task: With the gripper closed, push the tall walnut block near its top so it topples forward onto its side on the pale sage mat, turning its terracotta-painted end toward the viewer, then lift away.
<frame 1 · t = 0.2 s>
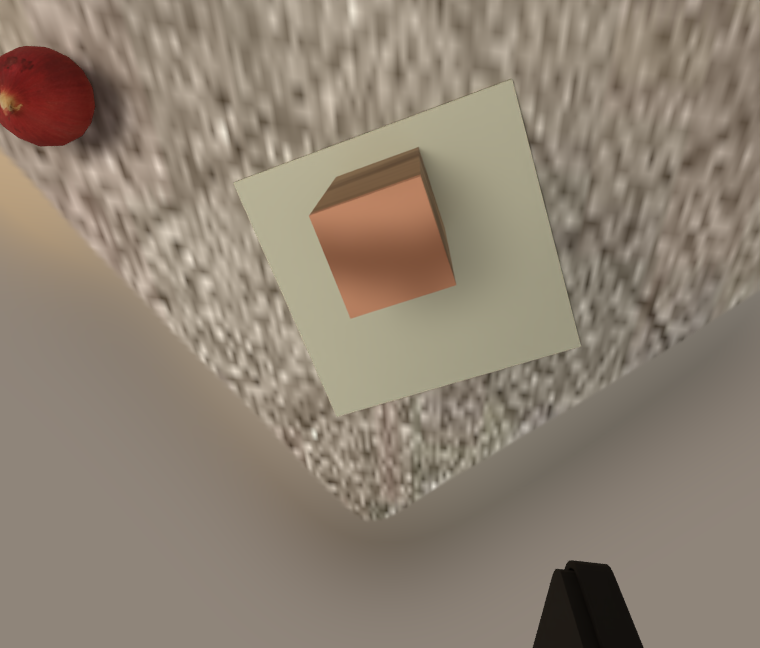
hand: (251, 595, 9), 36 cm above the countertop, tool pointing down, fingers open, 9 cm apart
mat: (414, 265, 45), on the countertop
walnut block: (391, 203, 43), resting on mat
onion: (75, 94, 41), on the countertop
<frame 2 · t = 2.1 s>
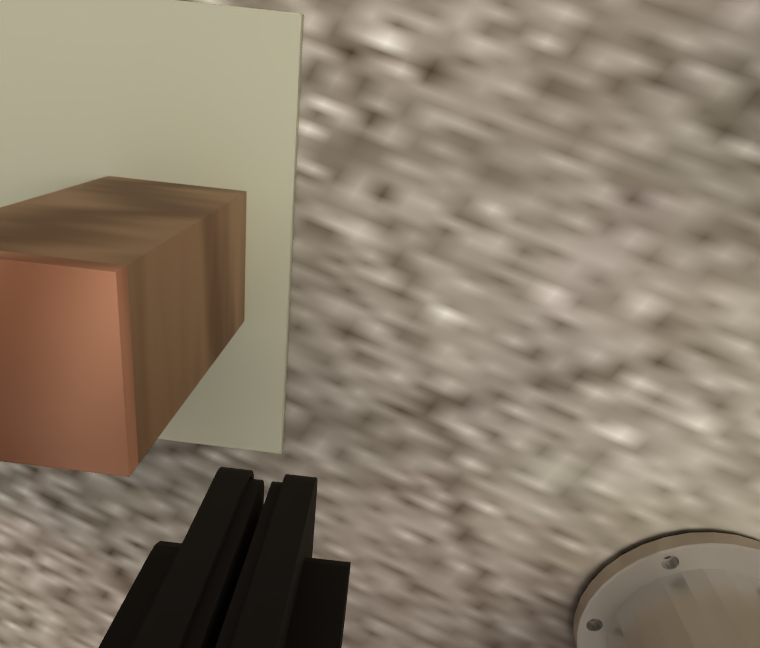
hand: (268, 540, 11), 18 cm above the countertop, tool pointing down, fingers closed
mat: (74, 236, 28), on the countertop
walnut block: (178, 251, 27), resting on mat
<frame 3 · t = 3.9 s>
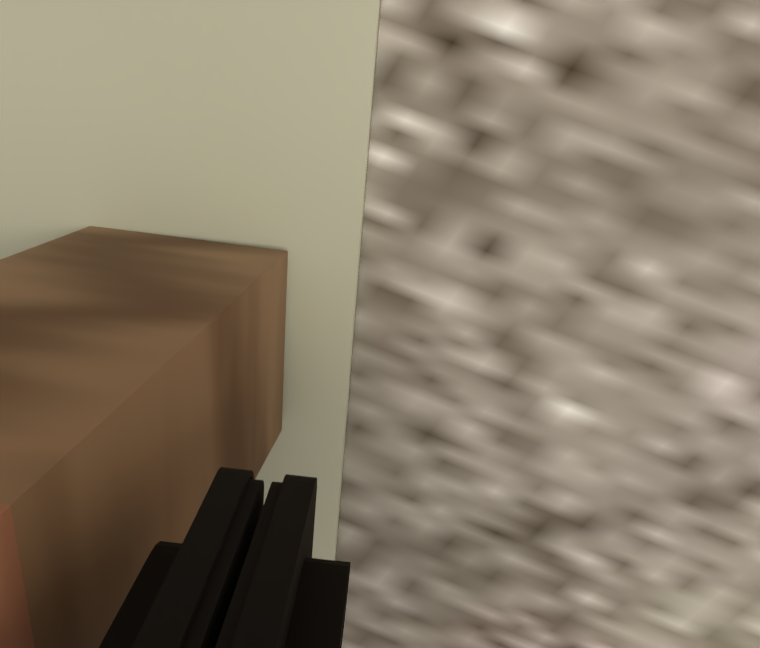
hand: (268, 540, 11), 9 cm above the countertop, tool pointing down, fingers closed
mat: (45, 307, 20), on the countertop
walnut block: (190, 332, 19), point 1 cm above the countertop, touching mat
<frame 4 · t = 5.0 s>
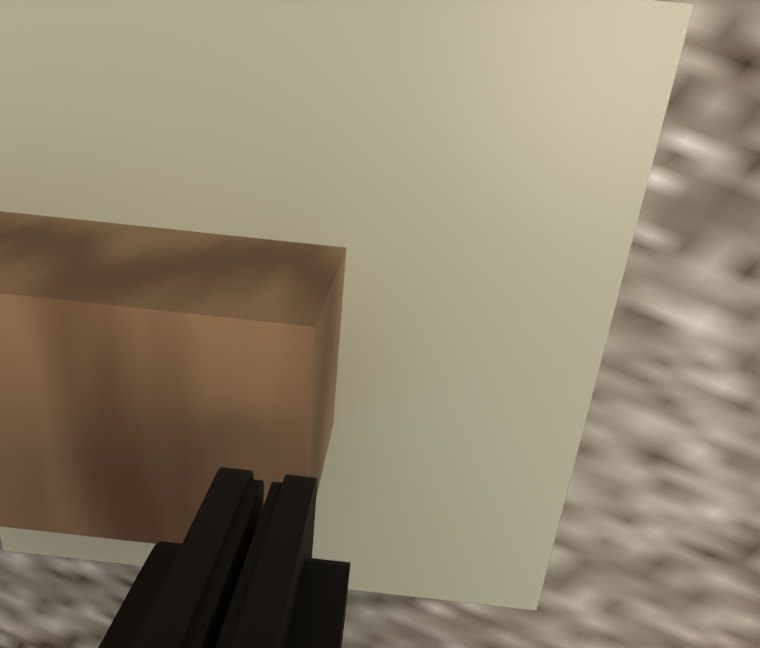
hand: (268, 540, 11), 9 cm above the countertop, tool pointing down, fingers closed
mat: (278, 328, 19), on the countertop
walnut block: (326, 387, 16), point 3 cm above the countertop, tilted 90°, touching mat
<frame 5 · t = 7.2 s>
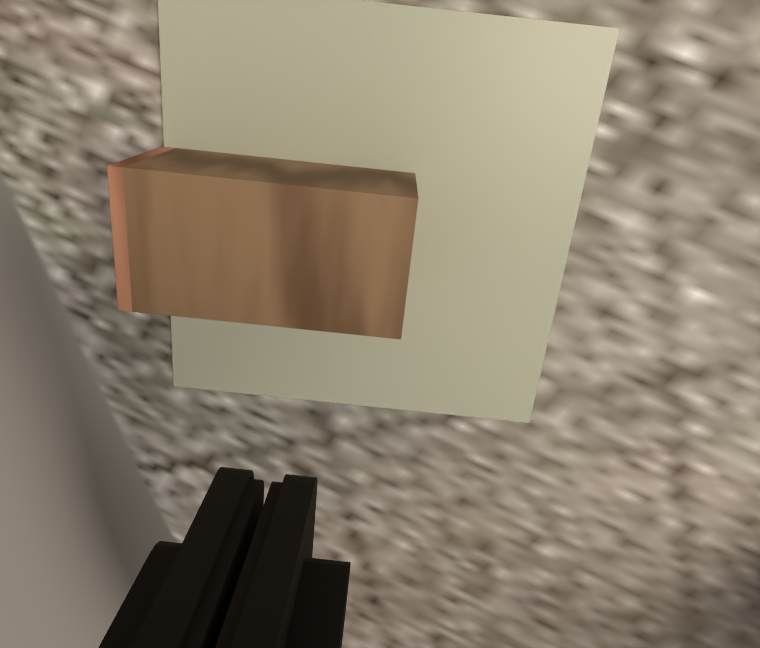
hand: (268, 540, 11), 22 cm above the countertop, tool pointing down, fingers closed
mat: (368, 227, 30), on the countertop
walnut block: (408, 251, 27), point 3 cm above the countertop, tilted 90°, touching mat
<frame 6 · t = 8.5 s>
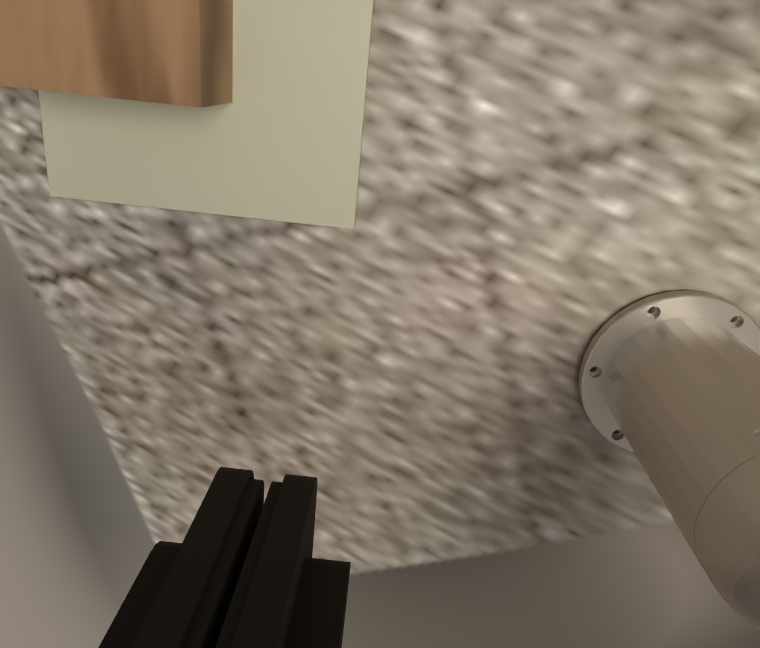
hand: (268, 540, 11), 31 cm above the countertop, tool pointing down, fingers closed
mat: (202, 45, 36), on the countertop
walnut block: (217, 46, 33), point 3 cm above the countertop, tilted 90°, touching mat
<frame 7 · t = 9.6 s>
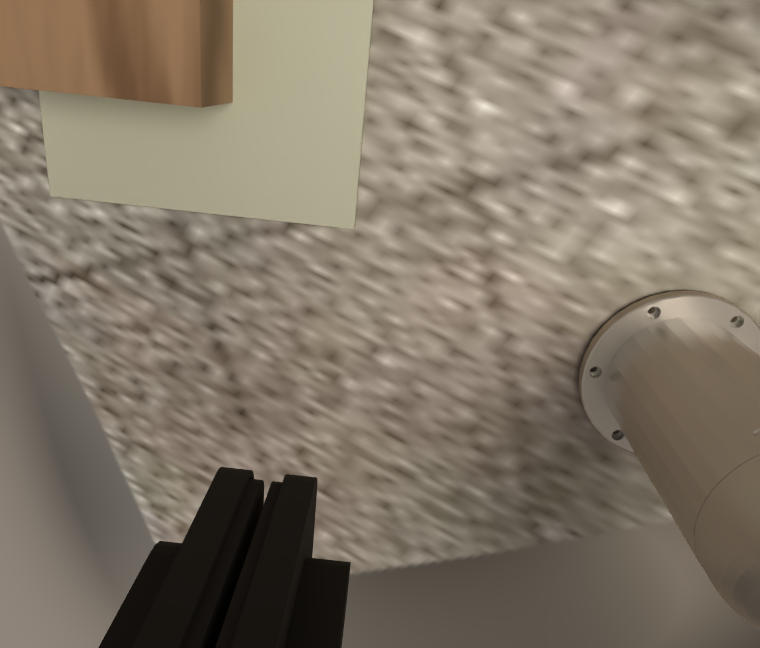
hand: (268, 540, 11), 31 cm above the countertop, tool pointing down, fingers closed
mat: (202, 45, 36), on the countertop
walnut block: (217, 46, 33), point 3 cm above the countertop, tilted 90°, touching mat
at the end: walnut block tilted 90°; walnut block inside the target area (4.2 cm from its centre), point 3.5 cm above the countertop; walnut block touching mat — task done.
